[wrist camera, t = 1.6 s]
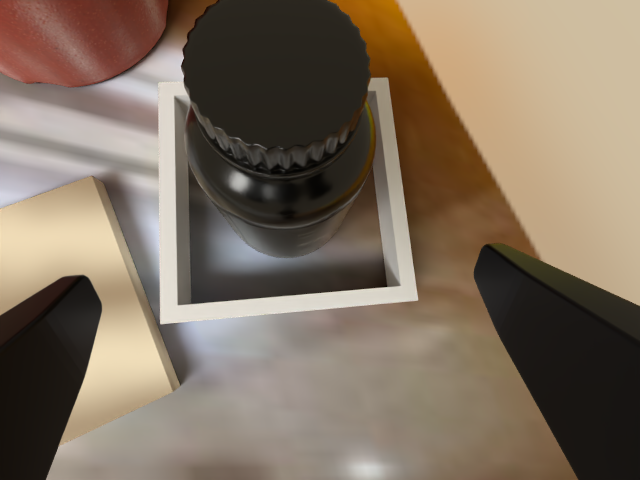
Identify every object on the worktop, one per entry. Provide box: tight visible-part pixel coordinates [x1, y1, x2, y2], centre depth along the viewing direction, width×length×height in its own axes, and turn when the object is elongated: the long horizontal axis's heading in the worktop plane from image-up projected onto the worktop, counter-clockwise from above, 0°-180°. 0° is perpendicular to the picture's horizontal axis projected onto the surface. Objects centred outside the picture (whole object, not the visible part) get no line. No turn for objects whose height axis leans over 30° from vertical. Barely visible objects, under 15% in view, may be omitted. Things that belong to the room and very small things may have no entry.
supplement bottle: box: [181, 0, 376, 258], centre depth 14 cm, size 7×7×12 cm
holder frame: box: [158, 78, 418, 324], centre depth 19 cm, size 13×13×2 cm
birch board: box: [0, 176, 180, 446], centre depth 17 cm, size 12×10×1 cm
